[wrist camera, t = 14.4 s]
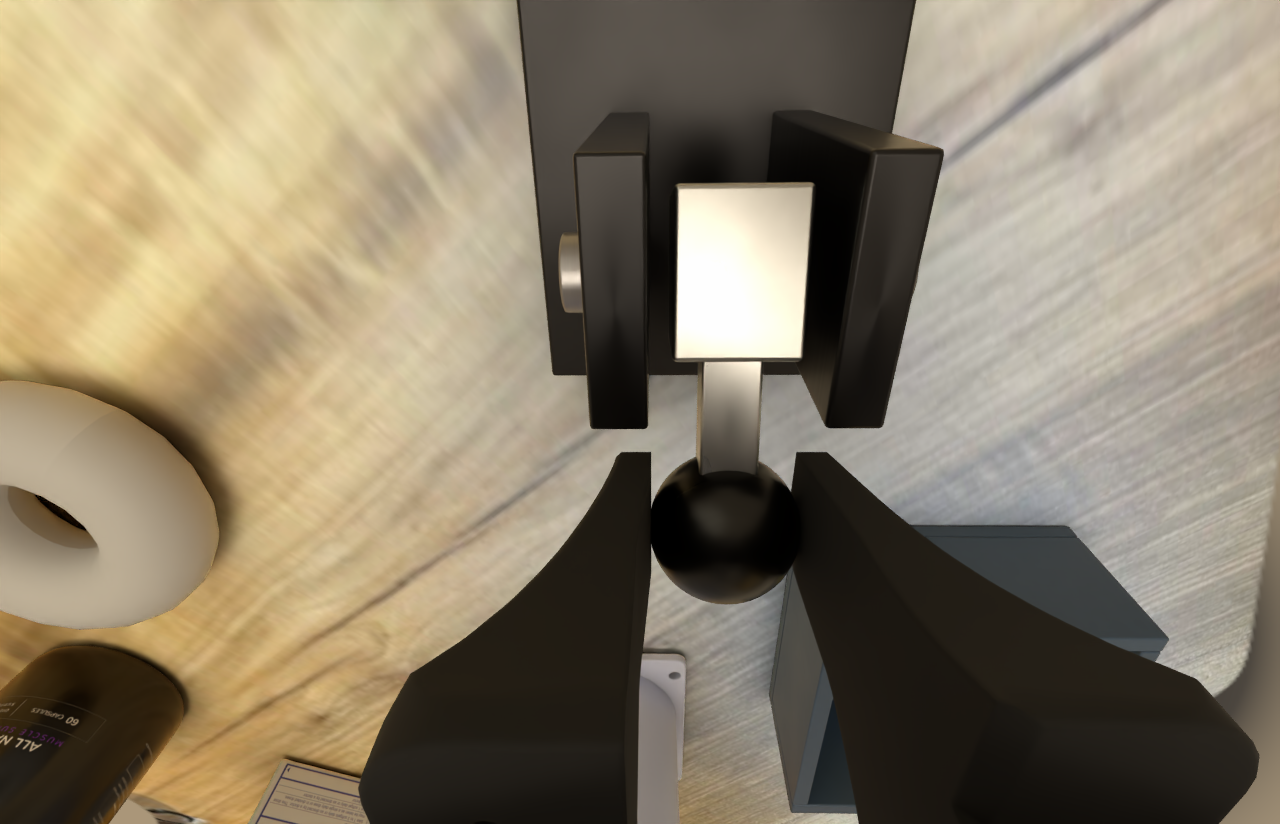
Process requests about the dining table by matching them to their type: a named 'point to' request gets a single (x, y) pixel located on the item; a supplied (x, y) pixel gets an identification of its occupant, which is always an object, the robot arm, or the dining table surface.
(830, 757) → the bin
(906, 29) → the bracket
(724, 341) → the lever
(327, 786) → the medicine box
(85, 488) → the donut
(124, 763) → the supplement bottle
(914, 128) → the dining table surface
